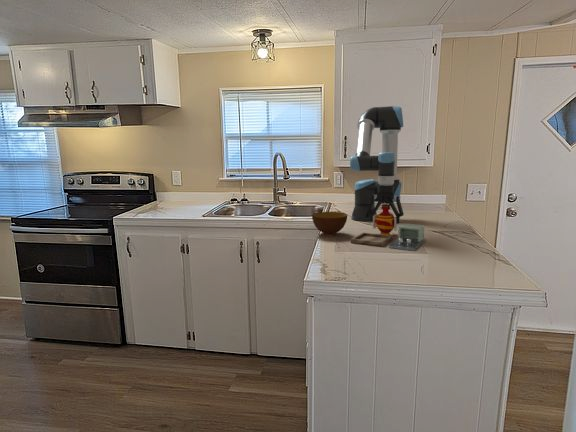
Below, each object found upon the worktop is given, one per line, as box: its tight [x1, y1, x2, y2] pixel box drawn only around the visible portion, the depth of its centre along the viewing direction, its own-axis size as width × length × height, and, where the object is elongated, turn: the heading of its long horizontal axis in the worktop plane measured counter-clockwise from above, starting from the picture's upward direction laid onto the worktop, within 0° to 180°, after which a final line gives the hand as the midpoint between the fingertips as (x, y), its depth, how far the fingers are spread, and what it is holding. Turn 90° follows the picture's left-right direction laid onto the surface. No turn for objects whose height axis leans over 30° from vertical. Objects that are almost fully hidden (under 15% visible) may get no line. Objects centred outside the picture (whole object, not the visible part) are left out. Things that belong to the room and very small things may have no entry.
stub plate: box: [388, 237, 427, 252], centre depth 182 cm, size 11×20×4 cm, turn 148°
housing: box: [397, 223, 425, 242], centre depth 186 cm, size 10×7×6 cm
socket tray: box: [350, 232, 394, 248], centre depth 189 cm, size 15×15×2 cm
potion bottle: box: [374, 203, 396, 235], centre depth 200 cm, size 10×10×15 cm
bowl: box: [311, 211, 348, 236], centre depth 204 cm, size 18×18×10 cm
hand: (385, 229), depth 200 cm, fingers closed on potion bottle, 10 cm apart
